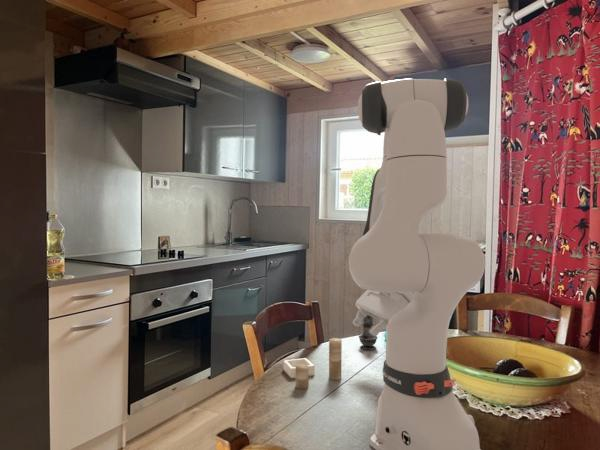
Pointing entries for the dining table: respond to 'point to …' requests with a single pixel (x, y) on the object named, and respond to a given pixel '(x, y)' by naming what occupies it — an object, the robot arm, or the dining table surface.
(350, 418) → the dining table surface
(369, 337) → the dark grey chess piece
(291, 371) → the socket
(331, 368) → the long pin
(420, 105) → the robot arm
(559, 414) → the dining table surface
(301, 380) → the short pin
